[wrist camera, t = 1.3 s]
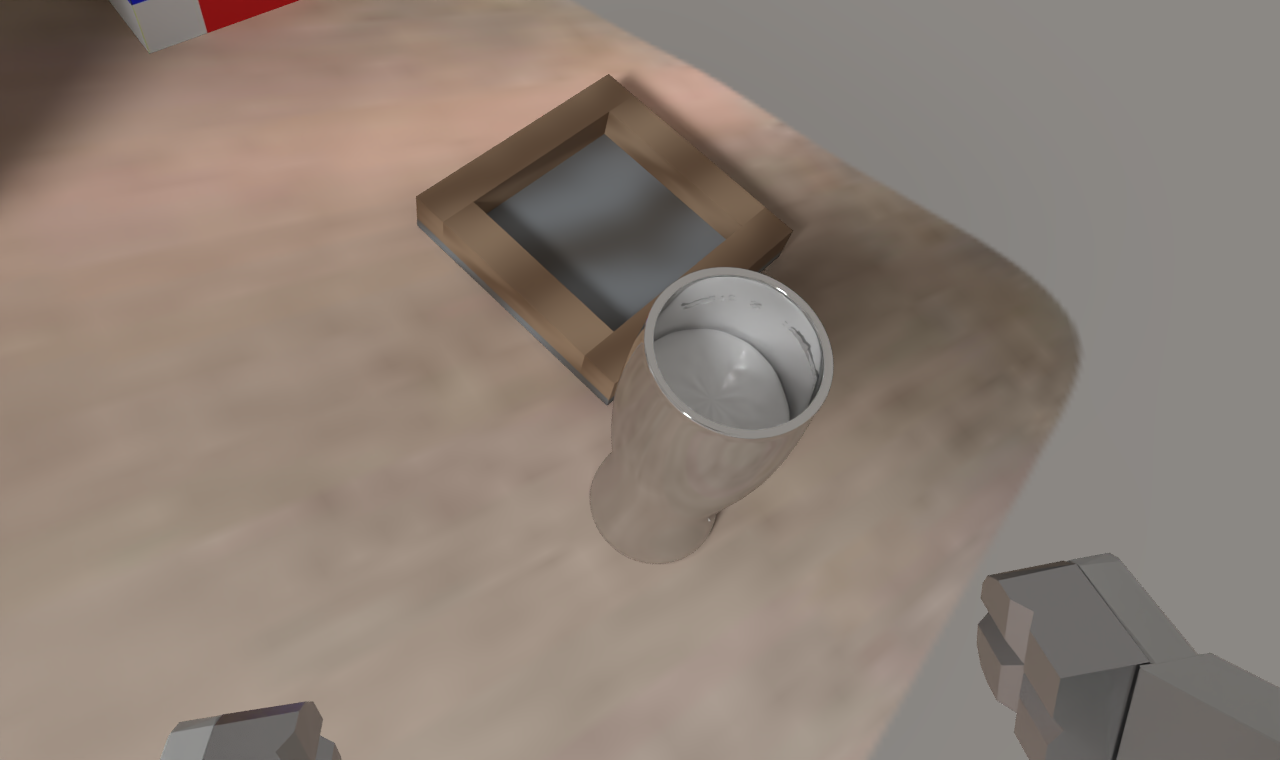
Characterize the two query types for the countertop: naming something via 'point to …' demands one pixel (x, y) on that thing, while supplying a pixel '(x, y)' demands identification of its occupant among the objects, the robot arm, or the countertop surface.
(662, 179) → the cradle jig
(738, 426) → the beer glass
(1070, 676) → the robot arm
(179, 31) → the puzzle toy
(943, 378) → the countertop surface
